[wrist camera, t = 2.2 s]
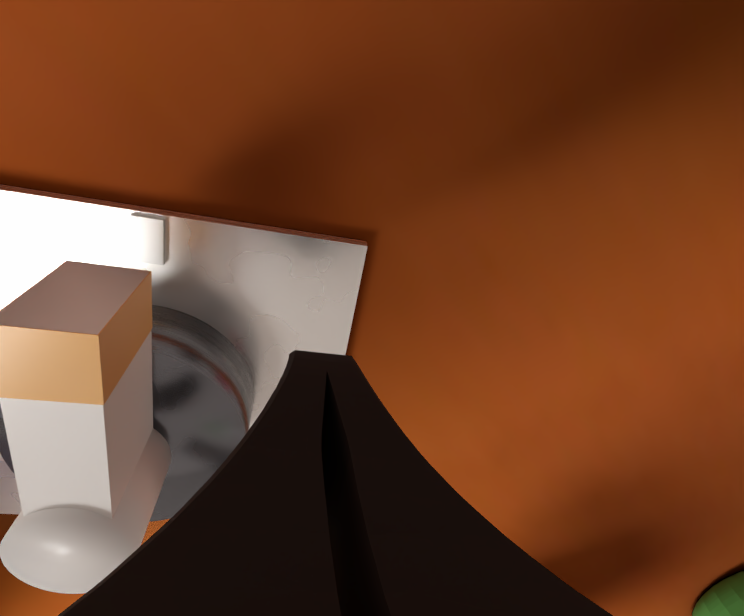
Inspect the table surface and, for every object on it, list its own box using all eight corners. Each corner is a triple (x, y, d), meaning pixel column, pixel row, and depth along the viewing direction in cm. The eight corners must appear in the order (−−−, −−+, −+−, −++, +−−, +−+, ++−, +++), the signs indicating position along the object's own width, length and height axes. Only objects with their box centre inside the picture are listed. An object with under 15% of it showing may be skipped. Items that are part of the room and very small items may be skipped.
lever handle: (171, 488, 14) (135, 593, 11) (73, 485, 13) (9, 594, 11) (172, 273, 11) (123, 343, 8) (44, 257, 10) (-58, 325, 7)
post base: (311, 512, 20) (311, 578, 18) (-18, 502, 18) (-76, 577, 15) (365, 241, 15) (378, 277, 12) (-104, 168, 12) (-220, 193, 9)
